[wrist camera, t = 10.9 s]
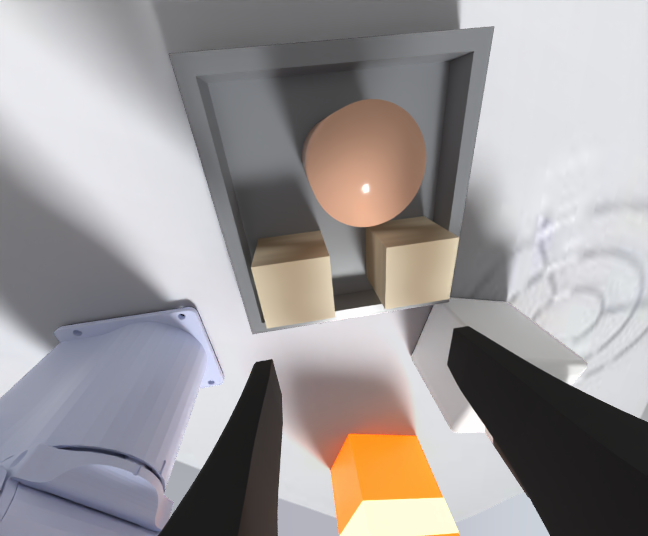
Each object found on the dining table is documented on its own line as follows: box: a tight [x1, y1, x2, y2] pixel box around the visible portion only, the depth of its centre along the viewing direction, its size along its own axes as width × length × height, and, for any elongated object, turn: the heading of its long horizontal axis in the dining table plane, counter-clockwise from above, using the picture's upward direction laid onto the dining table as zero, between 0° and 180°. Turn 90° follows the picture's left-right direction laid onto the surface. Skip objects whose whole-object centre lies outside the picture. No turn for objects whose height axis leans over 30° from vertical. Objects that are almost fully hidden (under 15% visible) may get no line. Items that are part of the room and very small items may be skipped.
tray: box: [169, 26, 494, 334], centre depth 16 cm, size 14×15×2 cm
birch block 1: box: [251, 230, 335, 329], centre depth 16 cm, size 4×4×4 cm
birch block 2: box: [366, 216, 459, 309], centre depth 16 cm, size 4×4×4 cm
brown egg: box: [302, 99, 426, 227], centre depth 12 cm, size 4×4×6 cm
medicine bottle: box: [411, 297, 588, 497], centre depth 18 cm, size 7×7×12 cm
